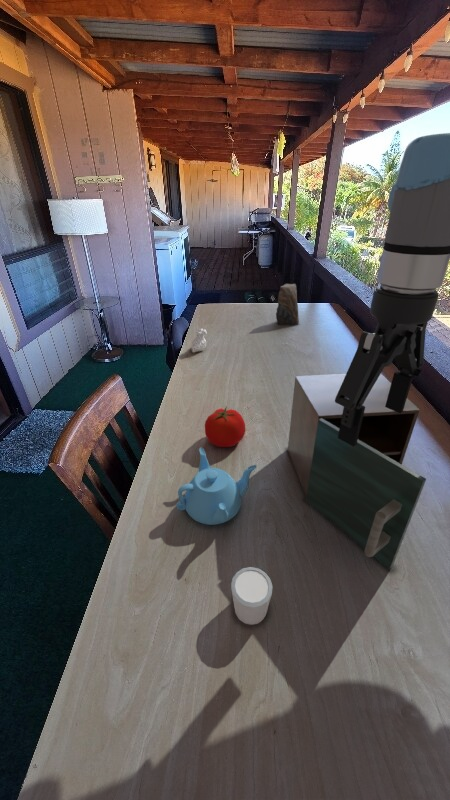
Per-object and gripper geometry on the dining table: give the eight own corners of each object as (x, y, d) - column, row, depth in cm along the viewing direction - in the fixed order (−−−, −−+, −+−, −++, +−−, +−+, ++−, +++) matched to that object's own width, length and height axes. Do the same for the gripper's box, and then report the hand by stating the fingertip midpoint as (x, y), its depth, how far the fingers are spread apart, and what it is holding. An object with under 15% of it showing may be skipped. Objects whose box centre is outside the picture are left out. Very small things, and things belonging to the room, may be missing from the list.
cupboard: (392, 491, 85) (419, 409, 73) (306, 498, 83) (318, 416, 71) (361, 445, 100) (379, 371, 88) (287, 450, 99) (295, 376, 86)
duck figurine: (196, 359, 157) (210, 341, 152) (183, 349, 156) (197, 330, 150) (203, 349, 167) (216, 332, 162) (190, 339, 166) (203, 322, 160)
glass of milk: (222, 608, 61) (222, 585, 58) (249, 582, 66) (250, 559, 62) (252, 639, 57) (253, 616, 54) (278, 609, 61) (281, 585, 58)
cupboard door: (370, 588, 64) (402, 497, 52) (287, 512, 79) (297, 429, 67) (391, 568, 68) (426, 478, 56) (308, 499, 83) (321, 417, 71)
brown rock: (275, 325, 191) (277, 287, 180) (274, 318, 201) (276, 282, 191) (298, 325, 190) (302, 288, 179) (296, 318, 200) (300, 282, 190)
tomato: (236, 426, 109) (236, 398, 104) (251, 448, 100) (252, 418, 94) (199, 435, 105) (197, 406, 100) (212, 458, 96) (210, 427, 91)
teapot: (168, 515, 79) (164, 482, 74) (204, 475, 90) (202, 443, 85) (224, 543, 73) (224, 509, 68) (255, 495, 84) (257, 463, 79)
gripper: (422, 269, 54) (389, 390, 64) (321, 297, 40) (302, 444, 51) (476, 277, 49) (431, 406, 60) (383, 312, 35) (346, 471, 46)
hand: (371, 424), depth 55 cm, fingers open, 13 cm apart
